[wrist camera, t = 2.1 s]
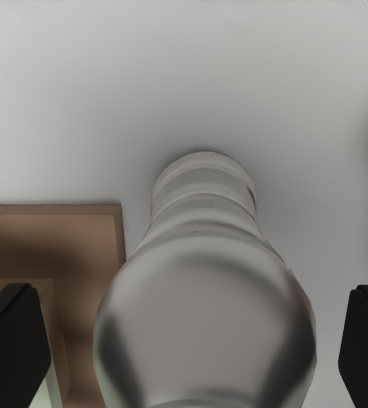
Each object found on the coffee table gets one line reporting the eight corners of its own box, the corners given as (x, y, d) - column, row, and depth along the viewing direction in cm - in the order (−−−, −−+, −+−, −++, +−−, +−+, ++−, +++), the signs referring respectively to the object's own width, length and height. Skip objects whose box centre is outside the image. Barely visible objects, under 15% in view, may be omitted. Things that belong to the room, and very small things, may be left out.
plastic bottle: (137, 183, 24) (-117, 559, 5) (215, 123, 22) (263, 357, 3) (193, 249, 25) (155, 727, 7) (270, 198, 24) (516, 649, 5)
